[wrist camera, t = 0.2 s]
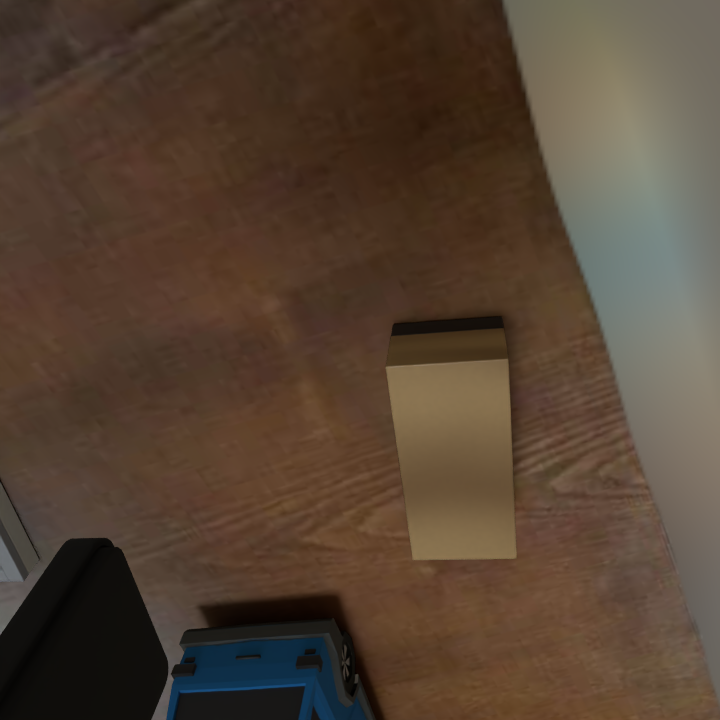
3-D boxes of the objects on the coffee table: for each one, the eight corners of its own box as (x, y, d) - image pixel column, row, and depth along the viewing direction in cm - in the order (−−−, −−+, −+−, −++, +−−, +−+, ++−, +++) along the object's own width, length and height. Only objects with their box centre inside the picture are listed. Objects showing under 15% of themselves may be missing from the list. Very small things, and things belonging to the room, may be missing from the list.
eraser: (392, 323, 31) (385, 366, 28) (502, 315, 31) (508, 358, 27) (416, 505, 37) (412, 560, 33) (510, 502, 36) (516, 559, 32)
